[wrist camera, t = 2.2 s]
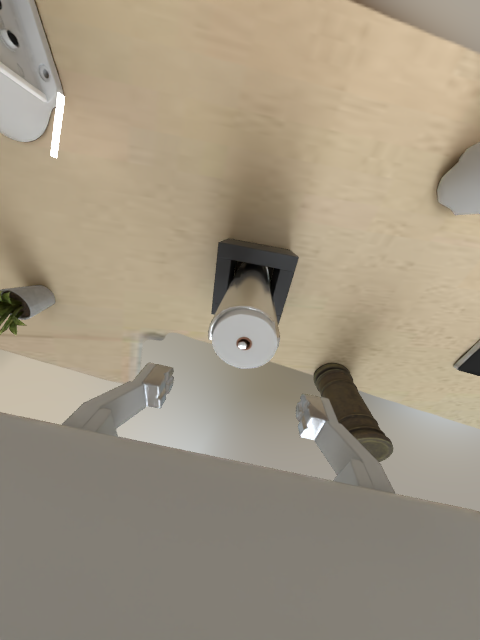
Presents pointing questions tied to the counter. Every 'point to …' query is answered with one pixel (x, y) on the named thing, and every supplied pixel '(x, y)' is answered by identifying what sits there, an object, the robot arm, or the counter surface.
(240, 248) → the box
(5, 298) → the house plant
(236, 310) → the silver tall cylinder
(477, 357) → the smartphone
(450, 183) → the bottle
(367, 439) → the container
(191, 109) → the counter surface
